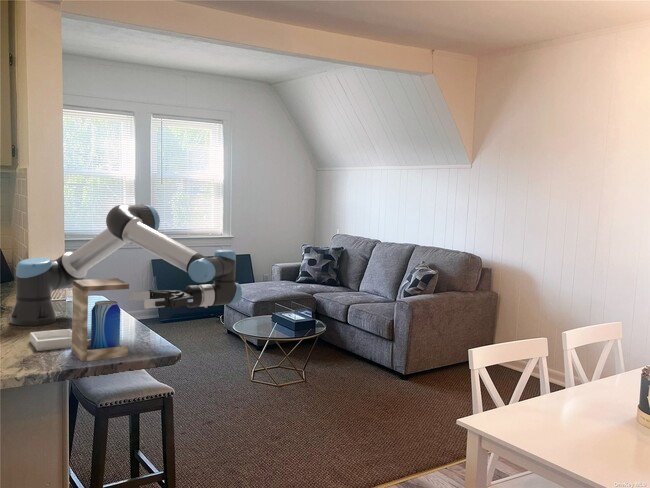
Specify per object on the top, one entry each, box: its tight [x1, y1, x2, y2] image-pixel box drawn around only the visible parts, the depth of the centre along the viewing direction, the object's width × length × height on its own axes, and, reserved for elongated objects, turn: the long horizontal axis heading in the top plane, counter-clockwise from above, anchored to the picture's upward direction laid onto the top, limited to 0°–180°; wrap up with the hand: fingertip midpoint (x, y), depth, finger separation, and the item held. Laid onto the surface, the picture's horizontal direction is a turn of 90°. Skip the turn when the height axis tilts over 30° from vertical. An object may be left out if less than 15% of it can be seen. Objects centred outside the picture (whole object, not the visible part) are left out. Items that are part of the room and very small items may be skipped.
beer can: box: [90, 300, 121, 350], centre depth 174 cm, size 8×8×16 cm
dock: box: [71, 277, 130, 362], centre depth 173 cm, size 14×13×22 cm
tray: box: [29, 328, 72, 351], centre depth 181 cm, size 12×12×3 cm
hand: (136, 300), depth 179 cm, fingers open, 13 cm apart
